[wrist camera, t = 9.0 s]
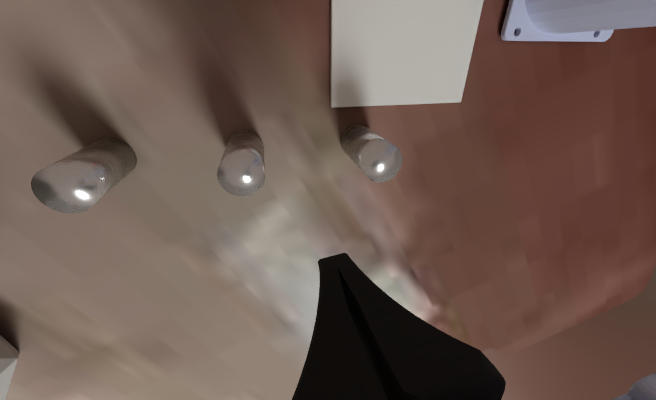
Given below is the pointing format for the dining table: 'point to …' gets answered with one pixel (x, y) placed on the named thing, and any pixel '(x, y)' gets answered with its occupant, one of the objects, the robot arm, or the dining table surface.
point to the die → (6, 365)
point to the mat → (401, 50)
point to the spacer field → (233, 173)
